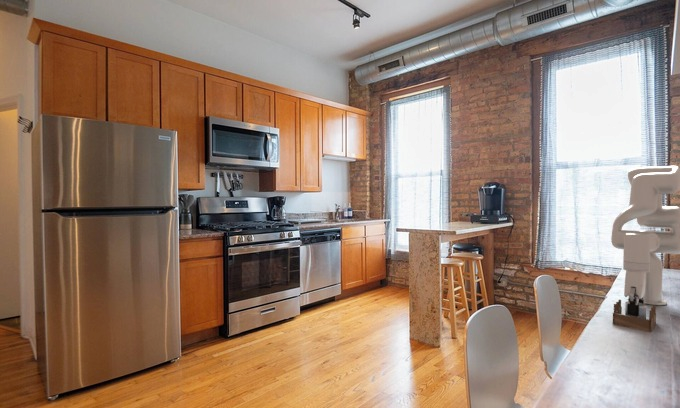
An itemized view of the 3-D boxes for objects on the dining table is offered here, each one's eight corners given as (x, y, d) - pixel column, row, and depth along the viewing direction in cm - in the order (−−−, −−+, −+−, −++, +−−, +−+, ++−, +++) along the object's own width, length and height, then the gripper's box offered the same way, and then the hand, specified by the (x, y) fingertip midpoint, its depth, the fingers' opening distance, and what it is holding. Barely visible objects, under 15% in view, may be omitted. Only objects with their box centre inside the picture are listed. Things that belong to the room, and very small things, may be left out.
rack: (619, 316, 138) (619, 298, 137) (656, 323, 130) (656, 304, 129) (612, 323, 130) (612, 305, 129) (651, 332, 122) (651, 312, 121)
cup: (626, 318, 135) (626, 300, 135) (647, 322, 131) (647, 304, 131) (623, 322, 131) (623, 303, 131) (644, 326, 127) (645, 307, 126)
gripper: (627, 262, 139) (627, 305, 139) (618, 268, 127) (617, 315, 128) (653, 264, 133) (652, 309, 134) (645, 271, 122) (644, 320, 122)
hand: (635, 312), depth 131 cm, fingers open, 9 cm apart
